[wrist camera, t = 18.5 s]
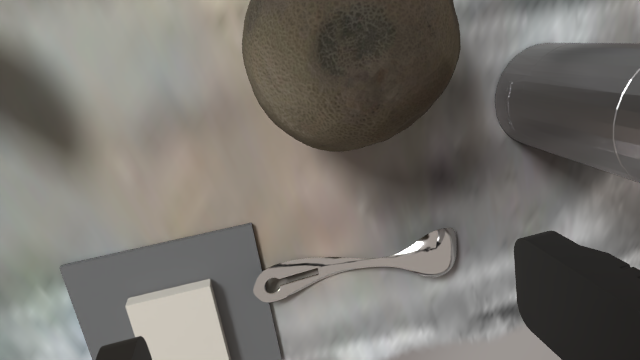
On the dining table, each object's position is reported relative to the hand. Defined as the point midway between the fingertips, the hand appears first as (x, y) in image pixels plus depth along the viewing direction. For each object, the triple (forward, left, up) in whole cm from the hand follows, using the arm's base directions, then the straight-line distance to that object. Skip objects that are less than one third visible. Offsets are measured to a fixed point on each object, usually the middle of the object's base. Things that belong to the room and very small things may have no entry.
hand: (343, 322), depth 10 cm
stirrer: (-7, +15, -32) cm, 36 cm away
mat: (+10, +16, -32) cm, 37 cm away
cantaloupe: (-7, -5, -32) cm, 33 cm away
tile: (+10, +13, -30) cm, 35 cm away
